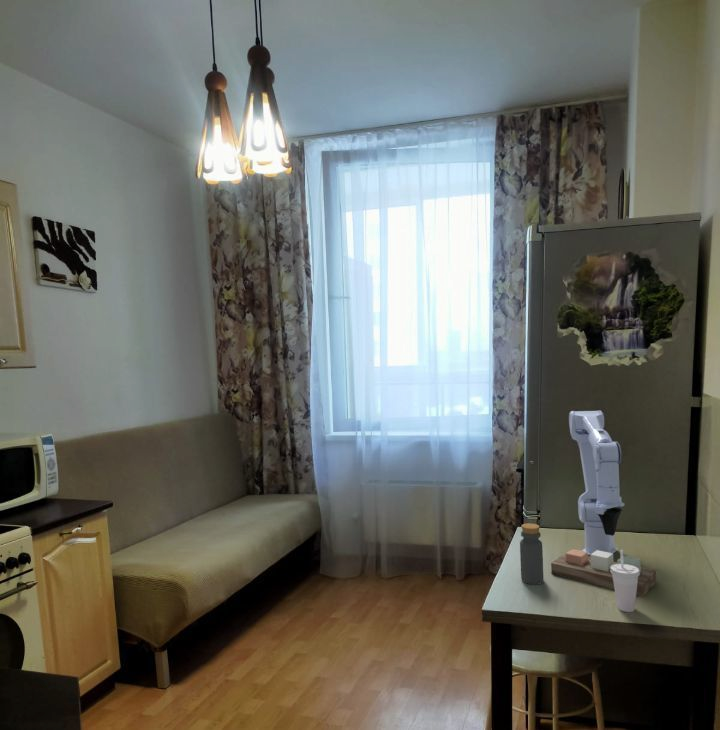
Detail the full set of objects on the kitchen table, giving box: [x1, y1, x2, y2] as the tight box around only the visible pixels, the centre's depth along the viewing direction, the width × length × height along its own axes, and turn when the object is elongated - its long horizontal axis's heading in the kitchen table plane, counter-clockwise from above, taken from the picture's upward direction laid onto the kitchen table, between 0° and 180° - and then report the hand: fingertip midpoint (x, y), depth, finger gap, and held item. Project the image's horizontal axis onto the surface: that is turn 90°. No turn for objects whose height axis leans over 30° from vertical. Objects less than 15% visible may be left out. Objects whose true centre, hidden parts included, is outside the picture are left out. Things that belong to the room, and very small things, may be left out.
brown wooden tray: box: [550, 552, 658, 597], centre depth 155 cm, size 11×24×3 cm, turn 47°
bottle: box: [519, 522, 544, 585], centre depth 155 cm, size 6×6×15 cm
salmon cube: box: [565, 548, 589, 566], centre depth 160 cm, size 4×4×4 cm
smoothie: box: [610, 549, 640, 613], centre depth 136 cm, size 6×6×14 cm
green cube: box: [616, 555, 642, 574], centre depth 150 cm, size 4×4×4 cm
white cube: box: [590, 550, 614, 572], centre depth 155 cm, size 4×4×4 cm
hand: (609, 534), depth 159 cm, fingers closed
